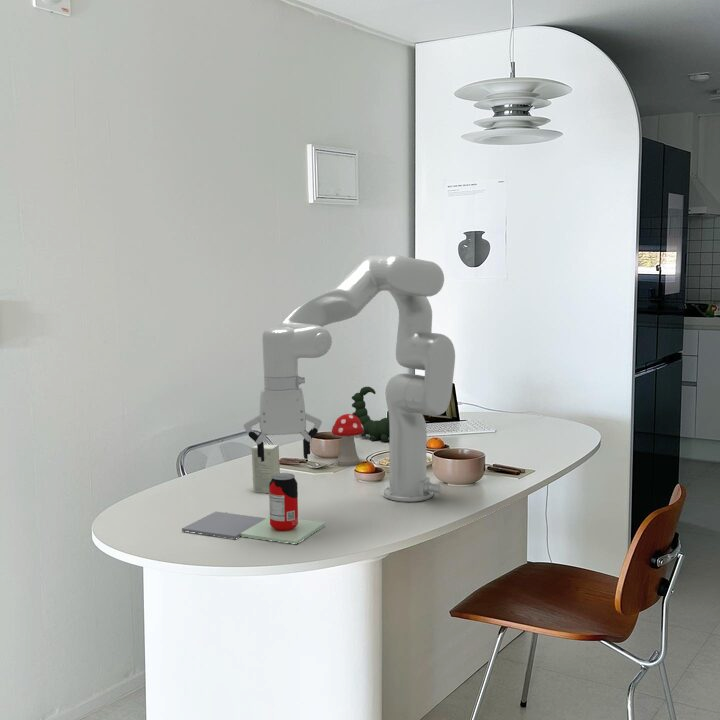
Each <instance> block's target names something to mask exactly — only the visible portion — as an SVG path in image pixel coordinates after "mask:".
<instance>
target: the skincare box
mask: <svg viewBox="0 0 720 720" xmlns="http://www.w3.org/2000/svg"><path fill="white" fill-rule="evenodd" d="M279 447H280V446H279V444H267V443H264V462H261V457H258V451H257V444H255V445H254V446H251V463H252V486H253V487H252V488H253V491H252V492H254V493H260V494H261V493H262V494H263V493H264V494H269V483H270V481H271V480H272V475H274V474H279V473H280V472H281V468H280V467H281V466H280V465H281V464H280V448H279Z"/></svg>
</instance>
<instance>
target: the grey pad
mask: <svg viewBox="0 0 720 720" xmlns="http://www.w3.org/2000/svg"><path fill="white" fill-rule="evenodd" d="M266 518H267V517H261V516H260V517H259V516H252V515H246V514H237V513H232V512H231V513H230V512H222V511H213V512H212V513H210V514H208V515H206V516H204V517H202V518H200V519H198V520H196V521H193V522H192V523H190V524H188V525H185V526H184V527H182V528H181V532H182V531H189V532H195V533H202V534H207V535H215V536H220V537H226V538H225V539H227V538H233V539H232V540H234V539H236V538H238V537H239V538H241V537H240V533H242V532H244V531H245V530H247V529H249V528H251V527H252V526H254V525H256V524H258V523H259V522H261V521H263V520H265V519H266ZM207 535H206V536H207ZM220 537H219V538H220ZM239 538H238V539H239ZM236 540H237V539H236Z"/></svg>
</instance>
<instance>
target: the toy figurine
mask: <svg viewBox="0 0 720 720" xmlns="http://www.w3.org/2000/svg"><path fill="white" fill-rule="evenodd" d="M369 393H372V394H374V395H376V390H375V389H374V388H372V387H371V386H363V387H362V388H360V391H359V392H356V393H354V395H352V396H351V400H353V401H354V403H352V404H351V408H354V409H355V411H354V412H353V411H352V413H351V414H352V415H355V416H356V417H358V418H359V420H360V421H361V423H362V425H363V428H364V433H362V434H360V436H361V437H363V438H364V437H367V435H369V436H370V438H369V439H370V440H371V442H375V441H376V440H379V439H381V441H382V442H387V441H388V440H389V439H390V426H389V414H388V415H387V417H384V418H383V417H382V418H381V419H380V420H373V419H371V416H370V415H368V412H369V411H368V409H367V408H366V402H365V400H364V396H366V395H367V394H369Z"/></svg>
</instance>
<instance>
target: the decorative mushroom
mask: <svg viewBox="0 0 720 720" xmlns="http://www.w3.org/2000/svg"><path fill="white" fill-rule="evenodd" d="M362 433H364V428H363V425H362V423H361V421H360V420H359V418H358V417H356V416H355V415H352V413H345V414H342V415H341V416H339V417H338V418H337V419H336V420H335V422H334V424H333V425H332V429H331V434H332V435H333V436H336V437H340V438H341V442H340V448H339V449H340V450H339V453H338V457H337V458H336V462H337V464H338V466H341V467H350V466H355V465H358V464H359V460H360V458H359V456H358V452H357V448H356V443H355V437H357V436H361V434H362ZM357 463H358V464H357Z"/></svg>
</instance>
